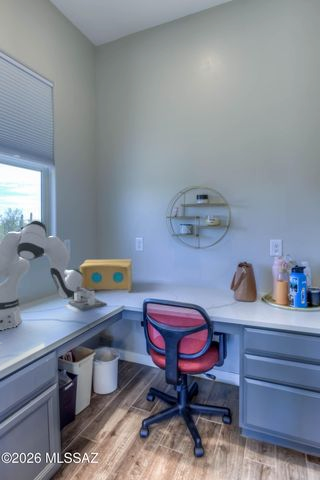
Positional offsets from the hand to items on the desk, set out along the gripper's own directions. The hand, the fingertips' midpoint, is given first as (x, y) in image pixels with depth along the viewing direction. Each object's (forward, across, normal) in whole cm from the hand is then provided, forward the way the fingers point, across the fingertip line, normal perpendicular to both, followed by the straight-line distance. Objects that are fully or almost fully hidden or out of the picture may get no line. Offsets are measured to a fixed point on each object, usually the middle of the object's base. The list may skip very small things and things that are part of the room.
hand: (88, 297), depth 186 cm
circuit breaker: (+8, +31, +3) cm, 32 cm away
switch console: (+5, +7, +5) cm, 10 cm away
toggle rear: (+3, +14, +5) cm, 15 cm away
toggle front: (+5, 0, +2) cm, 6 cm away
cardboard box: (+30, +33, -20) cm, 49 cm away
